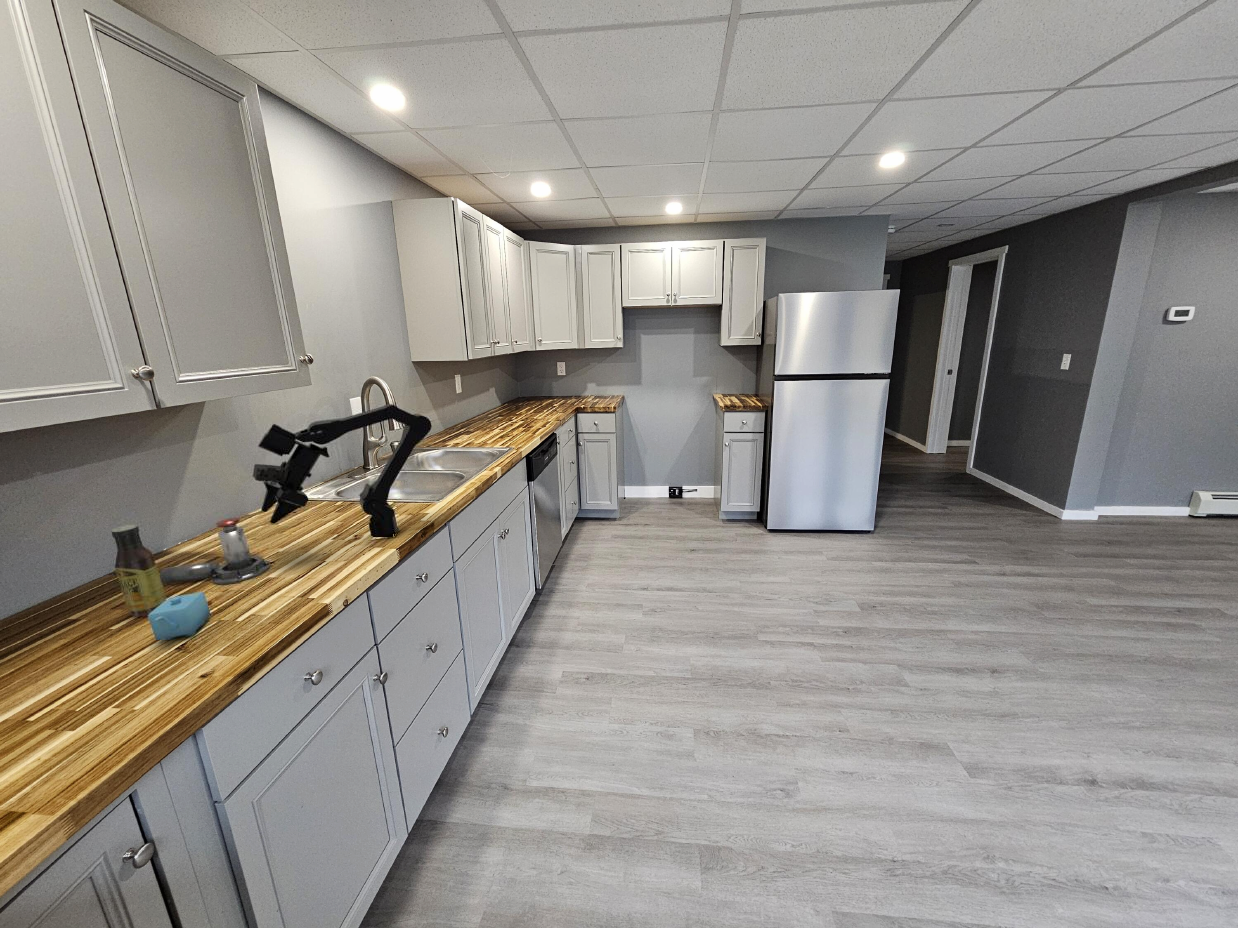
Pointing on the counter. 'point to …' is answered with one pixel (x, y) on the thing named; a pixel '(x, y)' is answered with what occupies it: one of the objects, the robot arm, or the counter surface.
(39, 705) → the counter surface
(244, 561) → the jar with red lid
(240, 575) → the dark grey handled piece
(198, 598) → the teapot
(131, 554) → the sauce bottle
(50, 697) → the counter surface
